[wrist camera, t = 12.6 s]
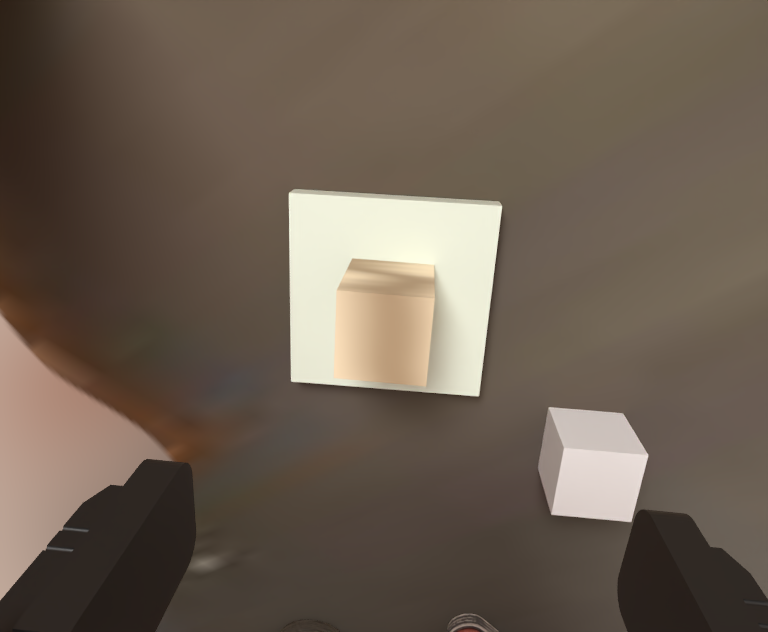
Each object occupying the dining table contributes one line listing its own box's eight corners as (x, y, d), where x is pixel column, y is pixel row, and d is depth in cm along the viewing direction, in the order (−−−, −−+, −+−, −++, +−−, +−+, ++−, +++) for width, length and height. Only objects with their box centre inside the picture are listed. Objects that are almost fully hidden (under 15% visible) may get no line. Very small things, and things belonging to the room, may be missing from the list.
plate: (296, 371, 32) (290, 381, 31) (294, 188, 28) (288, 192, 27) (477, 385, 31) (478, 396, 30) (499, 201, 28) (502, 206, 26)
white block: (537, 467, 33) (551, 514, 29) (548, 406, 31) (563, 447, 28) (608, 473, 33) (631, 522, 29) (622, 412, 31) (648, 455, 27)
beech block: (349, 333, 29) (333, 378, 25) (352, 258, 28) (336, 290, 23) (427, 340, 29) (426, 386, 24) (434, 264, 28) (434, 298, 23)
